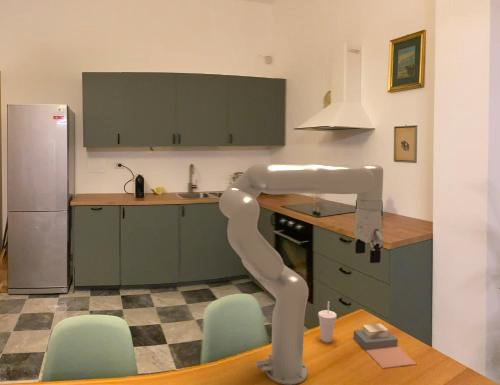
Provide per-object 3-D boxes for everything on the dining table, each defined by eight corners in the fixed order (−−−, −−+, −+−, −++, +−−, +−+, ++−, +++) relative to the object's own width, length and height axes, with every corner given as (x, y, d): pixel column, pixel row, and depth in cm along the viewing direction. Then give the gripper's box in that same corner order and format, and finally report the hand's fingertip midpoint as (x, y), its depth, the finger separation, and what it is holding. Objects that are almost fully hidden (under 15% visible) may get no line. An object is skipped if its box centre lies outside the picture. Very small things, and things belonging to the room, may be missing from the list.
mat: (382, 368, 122) (382, 367, 122) (365, 350, 132) (365, 349, 132) (416, 364, 124) (416, 363, 124) (397, 347, 135) (397, 346, 135)
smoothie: (338, 338, 140) (340, 301, 138) (331, 346, 134) (333, 307, 133) (321, 333, 143) (322, 297, 141) (314, 340, 138) (315, 303, 136)
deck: (365, 350, 132) (365, 342, 132) (353, 338, 140) (353, 330, 140) (397, 347, 135) (397, 339, 134) (383, 335, 143) (384, 327, 142)
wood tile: (369, 338, 134) (370, 332, 134) (362, 331, 139) (362, 325, 138) (387, 337, 136) (388, 330, 135) (380, 330, 140) (380, 323, 140)
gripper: (346, 200, 130) (344, 250, 132) (371, 210, 113) (369, 267, 115) (367, 199, 131) (365, 249, 133) (395, 209, 114) (392, 265, 117)
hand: (367, 257), depth 124 cm, fingers open, 9 cm apart
